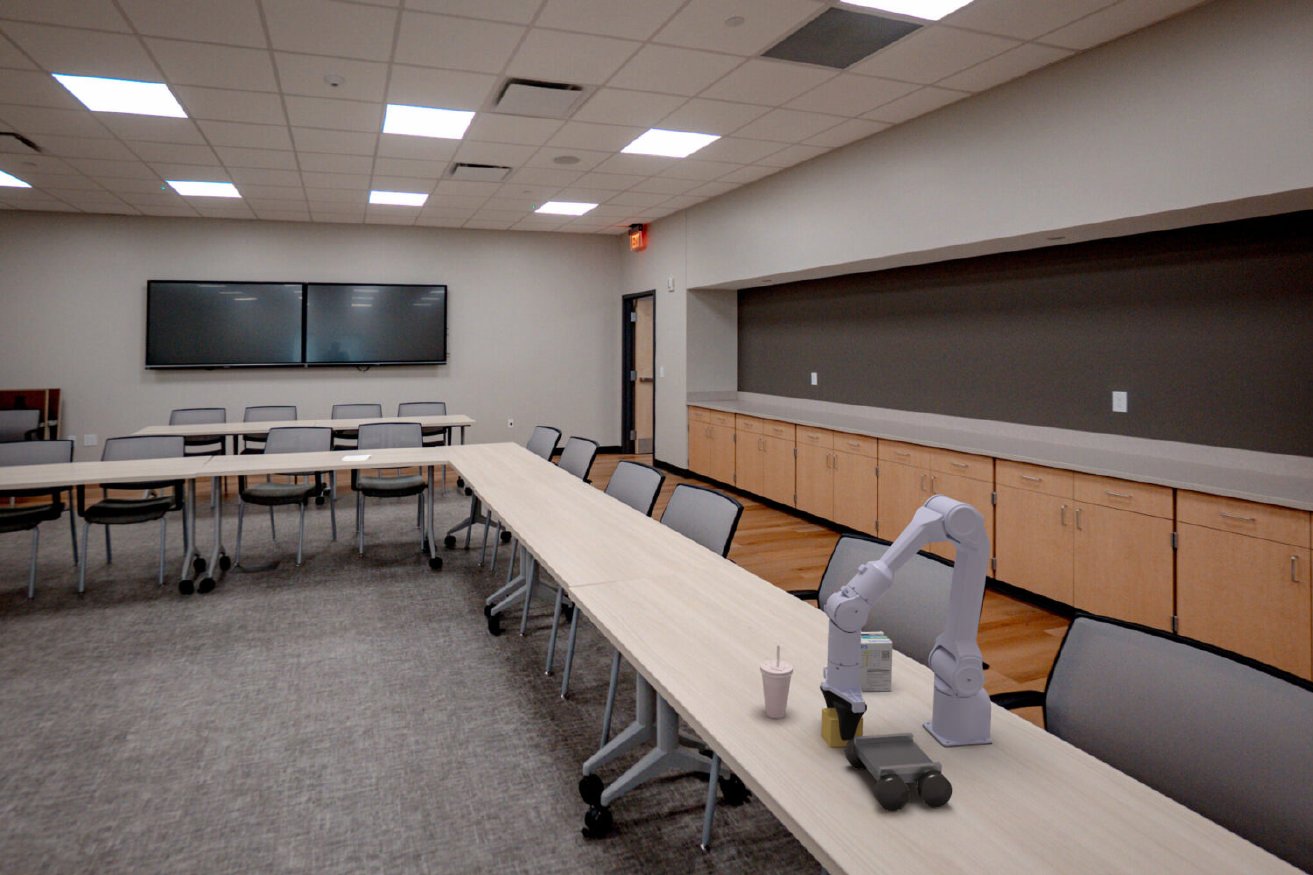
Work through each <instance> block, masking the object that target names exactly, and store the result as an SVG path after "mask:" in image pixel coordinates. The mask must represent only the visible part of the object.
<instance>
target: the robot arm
mask: <svg viewBox="0 0 1313 875" xmlns="http://www.w3.org/2000/svg"><path fill="white" fill-rule="evenodd" d="M985 518H986V517H985V516H983V514H982V513H981V512H980V511H979V510H977V508H975V506H973V505H972V504H969V503H966V502H962V501H959V500H956V499H953V498H951V497H950V496H947V495H946V494H934V495H932V496H930V497H929V498H928V499H927V500H926V501H925V503H924V504H923V505H922V506H920V507H919V508H917V510H916V512H915V513H914V515H913V518H912V519H911V521H910V522H909V523H908V524H907V526H906V527H905V529H904V530H903V531H902V532H901V533H900V535H899V536H898V537H897V538H896V539H895V541H894V542H893V543H892V544H891V546H889V548H888V549H887V550H886V551H885V552H884V554H883V555H882V556H881V557H880V559H878V560H871V561H870V560H869V561H868V562H866V563H865V564H864V563H862V564H861V565H860V566H859V567H858V568H857V570H858V572H857V573H856V574H855V575H854V576H853V577H852V578H851V579H850V580H849V582H847V584H846V585H842V586H841V587H840V589H839V590H838V592H834V593H832V594H831V595H830V596H828V598H827V599H826V600H827V601H826V604H823V610H824V613H825V614H826V616H827V618H829V619H828V634H827V666H823V668H822V670H823V674H822V677H823V678H824V679H825V681H821V682H820V686H819V689H820V692H821V693H822V696H823V698H824V702H825V704H826V708H835V709H836V712H837V715H838V720H839V729H840V736H841V739H842V740H843V741H845V740H851V739H852V738H854V736H855V733H856V730H857V727H858V724H859V721H860V719H861V717H863V715H864V714H865V713H866V712H867V710H868V705H867V703H866V701H865V700H864V697H863V691H862V690H861V684H860V656H861V632H862V628H863V627H865V625H866V624H867V622H868V619H869V613H870V611H871V610H872V608H873V607H874V606H875V605H876V604H877V603H878V602H879V600H881V599H882V597H883V596H884V595H885V594H886V593H887V592H888V591H889V590H890V589H891V588H892V587H893V586H894V585H895V574H896V572H898V571H899V570H900V569H901V568H902V567H903V566H904V565H905V564H906V563H907V562H909V561H910V560H911V558H913V557H914V556H915V555H916V554H917V553H918V552H919V551H920V550H921V549H922V548H923V547H925V545H927V544H928V543H929V544H933V543H942V542H943V543H944V542H945V543H946V542H948V541H949V543H951V545H952V546H953V547H954V548H955V551H956V552H955V557H954V558H955V559H954V565H953V571H952V579H951V583H950V592H949V597H948V598H949V599H948V606H947V610H946V611H947V612H946V618H945V624H944V630H943V632H942V633H941V634H939V635H938V636H937V637H936V638H935V644H934V647H933V648H932V649H931V651H930V653H929V656H928V660H927V661H928V662H927V663H928V666H929V669H930V670H931V672H932V673H933V674H934V676H933V693H932V694H933V699H932V701H933V702H932V717H931V718H932V720H931V721H925V722H922V726H923V727H924V728H925V730H927V731H928V732H929V733H930V734H931V735H932V736H933V737H934V738H935V739H936V740H937V741H938V742H939V743H940V744H941V745H942V746H945V747H949V746H951V747H954V746H964V745H966V746H967V745H977V744H979V745H981V744H991V743H993V739H992V738H991V722H992V720H991V719H992V703H991V698H990V695H989V693H988V692H987V690H986V688H984V687H983V686H984V684H985V680H986V676H985V672H984V669H983V660H984V658H983V654H982V652H981V650H980V647H979V645H978V642H977V636H978V631H979V623H980V618H981V610H982V604H983V598H984V592H985V586H986V577H987V571H988V565H989V561H990V560H989V559H990V553H991V540H990V538H989V536H988V534H987V530H986V527H985Z"/></svg>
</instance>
